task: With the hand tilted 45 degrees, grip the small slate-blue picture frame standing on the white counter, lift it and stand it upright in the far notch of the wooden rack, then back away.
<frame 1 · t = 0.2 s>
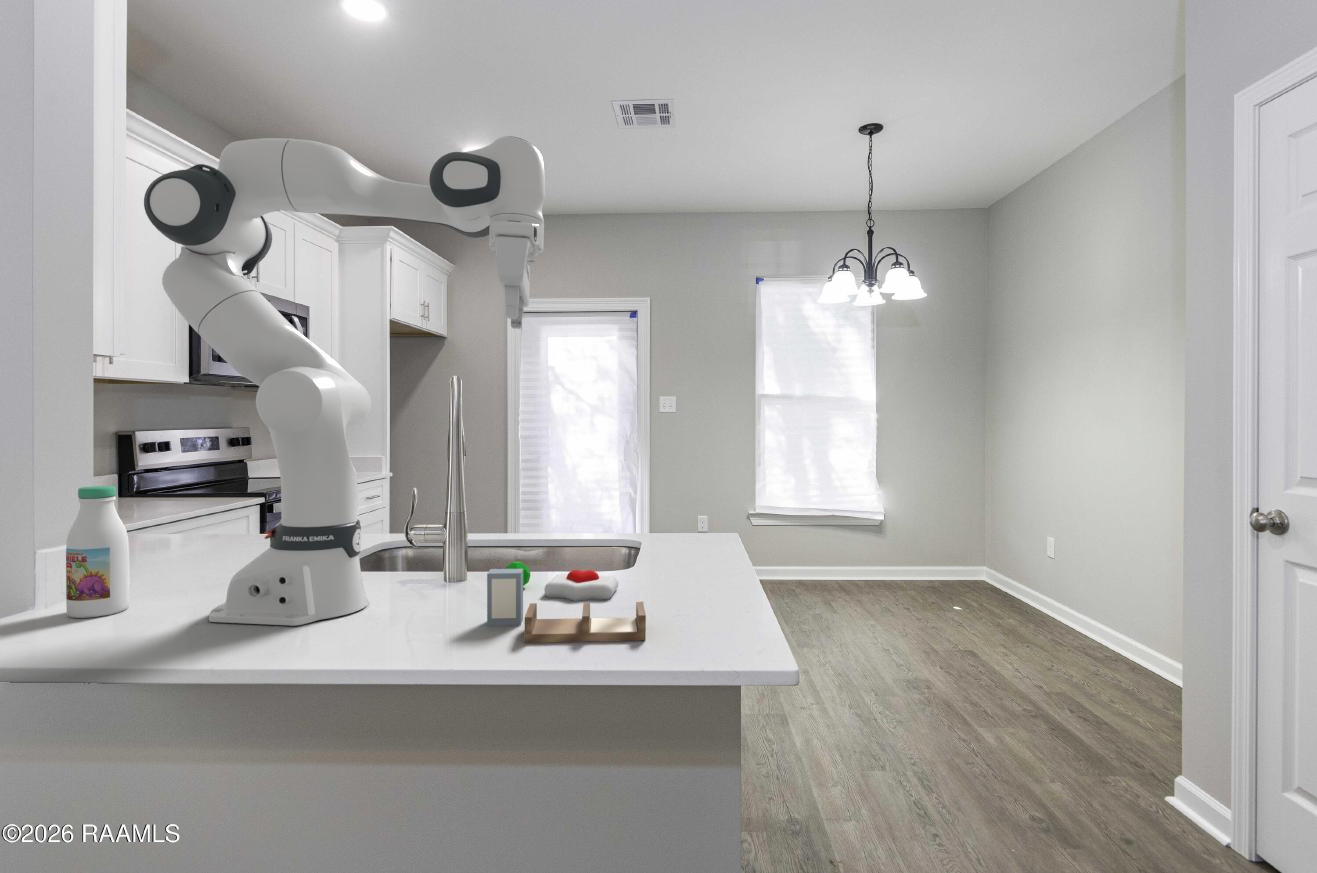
hand: (514, 323, 110), 47 cm above the countertop, tool pointing down, fingers open, 8 cm apart
polyhedron: (516, 589, 123), on the countertop
frame: (505, 622, 103), on the countertop
milk bottle: (99, 613, 106), on the countertop
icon: (580, 597, 120), on the countertop
wooden rack: (586, 633, 98), on the countertop
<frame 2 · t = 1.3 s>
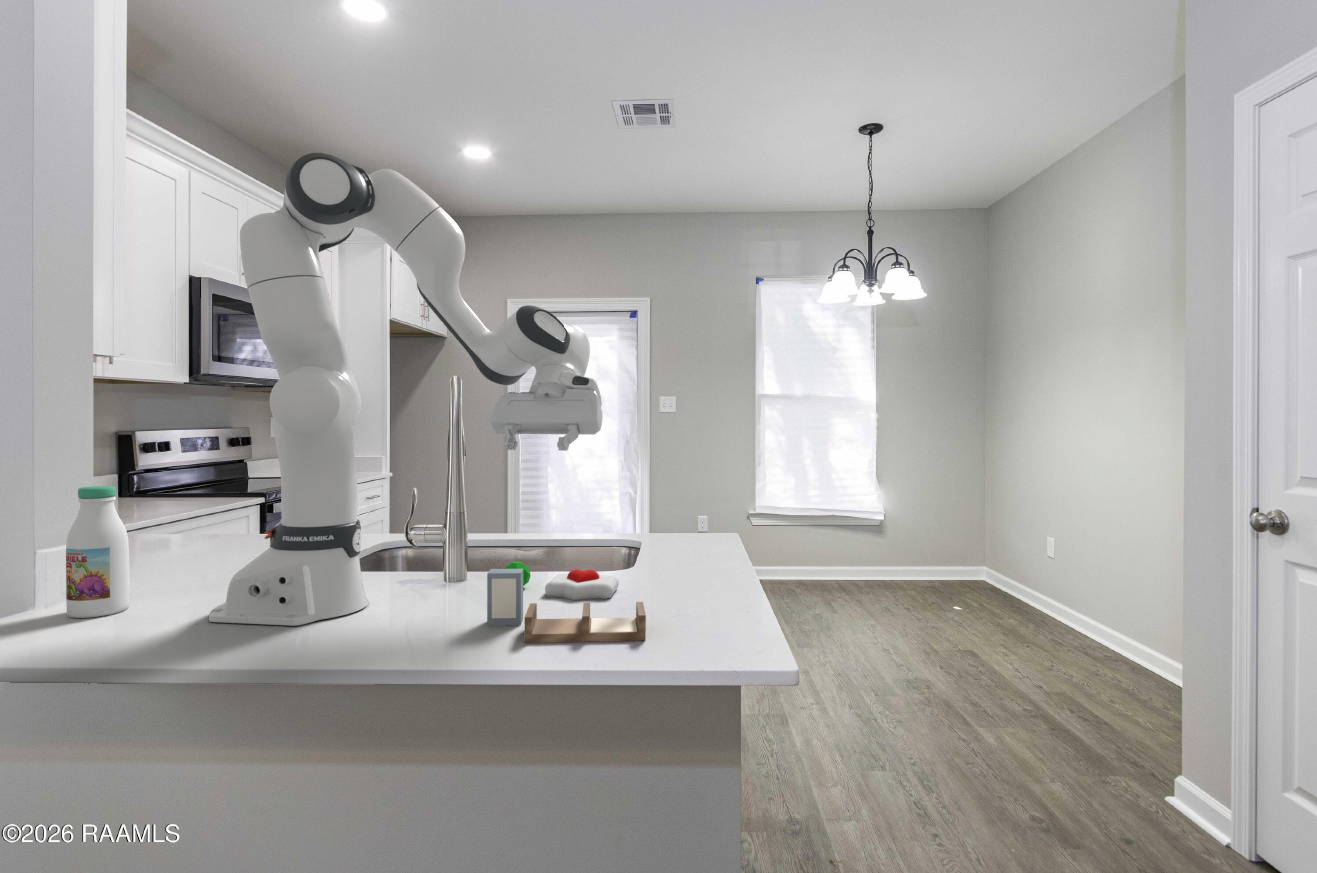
hand: (535, 448, 114), 26 cm above the countertop, tool tilted 45°, fingers open, 8 cm apart
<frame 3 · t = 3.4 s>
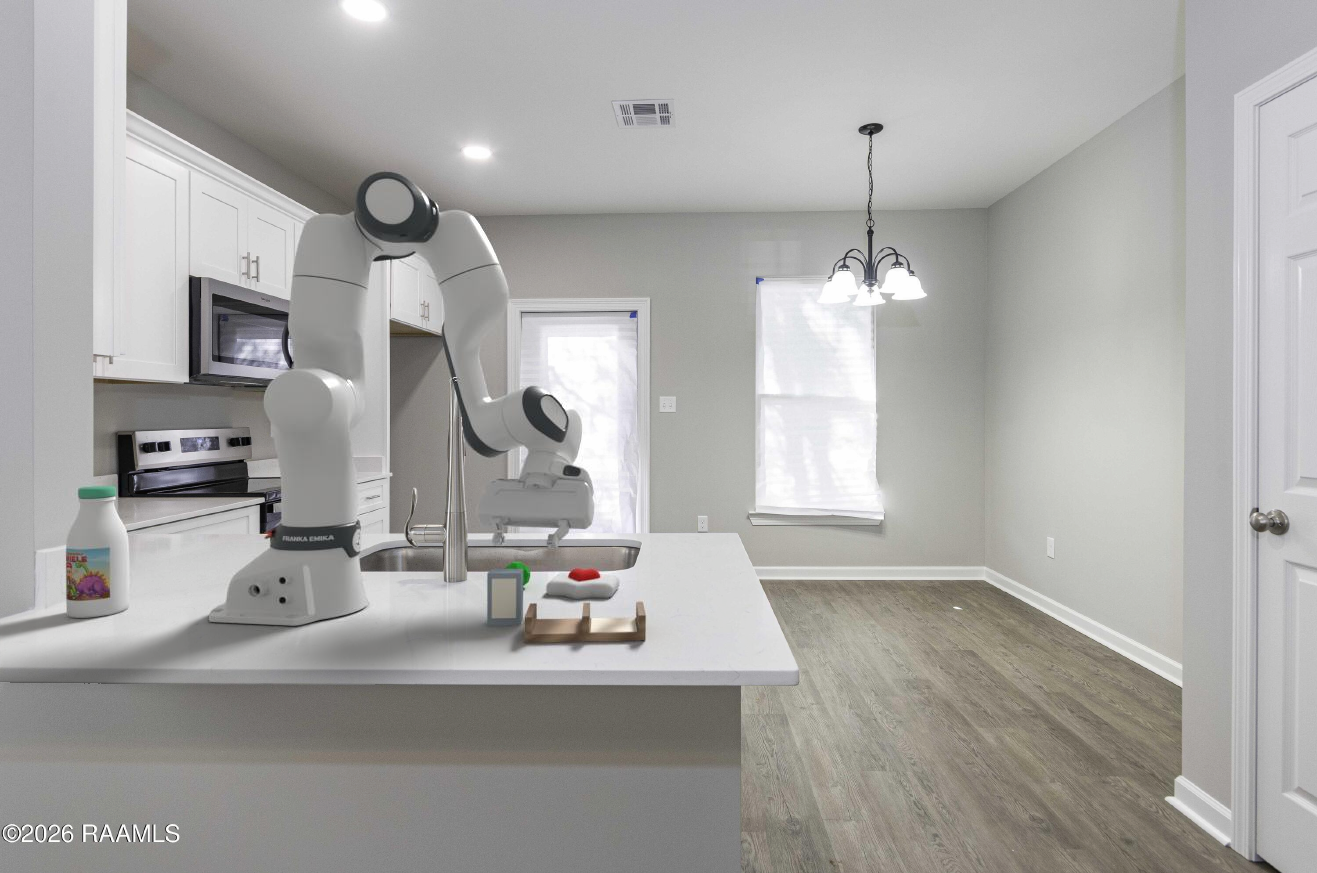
hand: (524, 545, 110), 11 cm above the countertop, tool tilted 45°, fingers open, 8 cm apart
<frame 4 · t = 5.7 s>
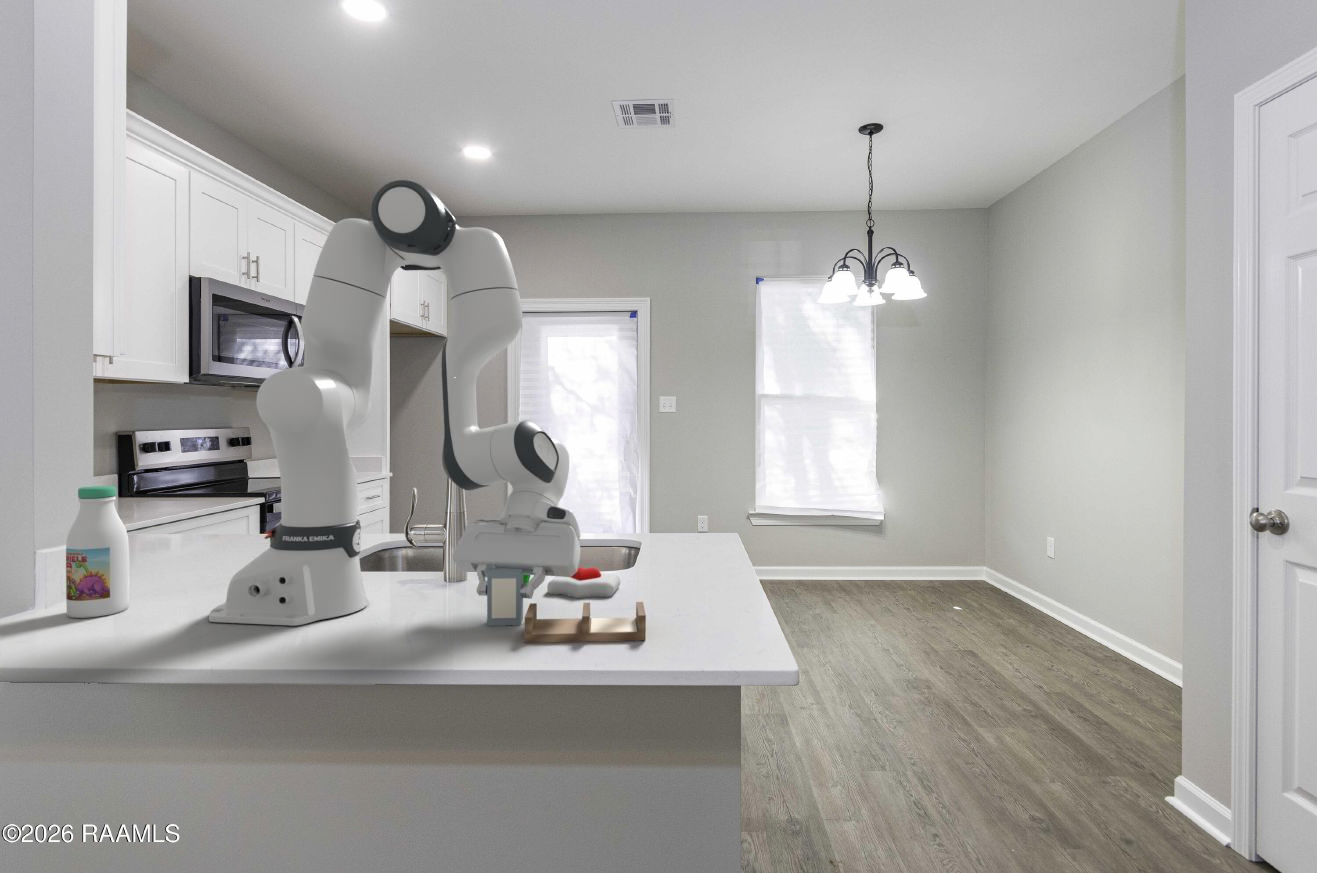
hand: (503, 595, 102), 4 cm above the countertop, tool tilted 45°, fingers closed on frame, 6 cm apart
frame: (505, 622, 103), on the countertop, touching gripper
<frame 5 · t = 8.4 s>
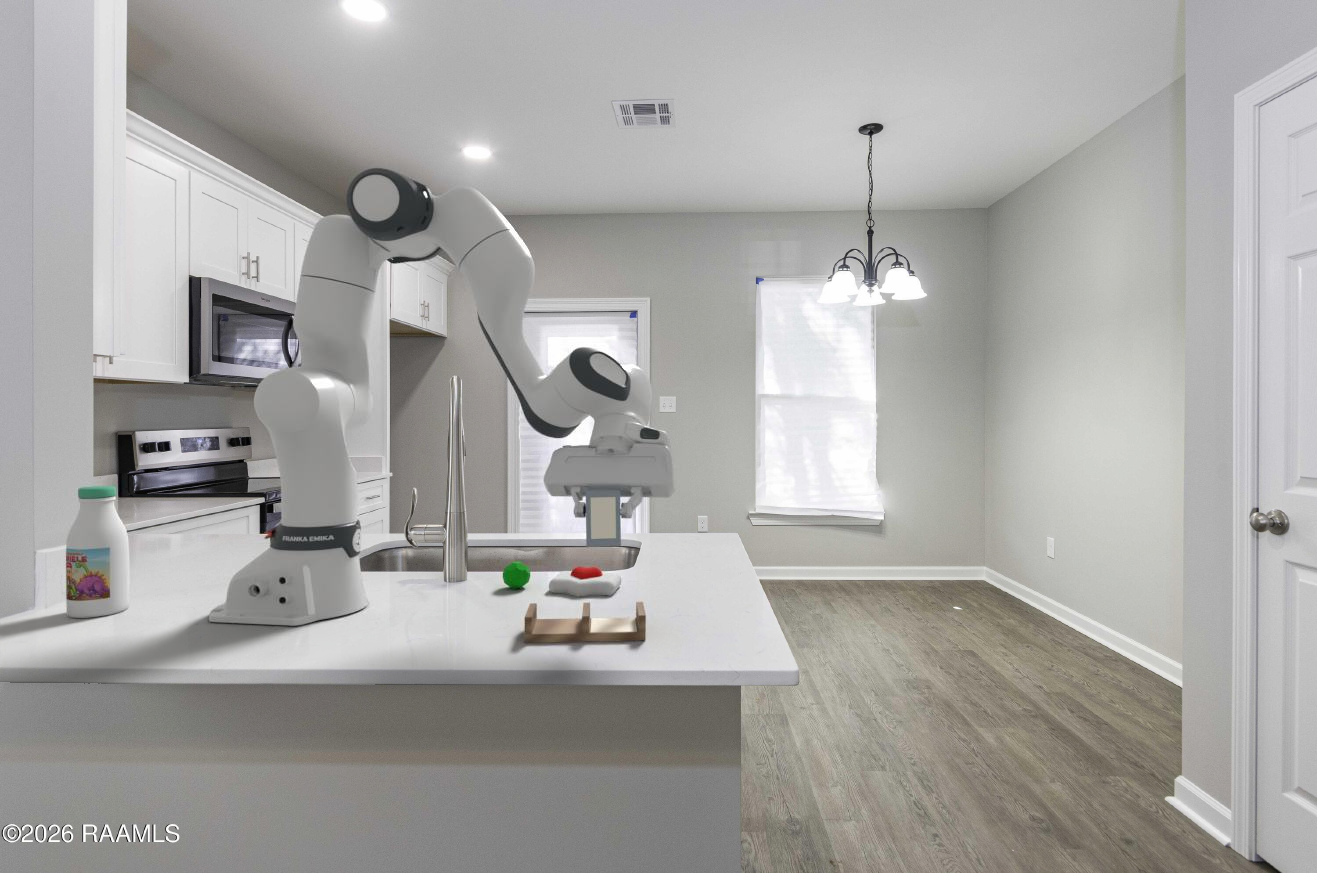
hand: (602, 515, 98), 17 cm above the countertop, tool tilted 45°, fingers closed on frame, 6 cm apart
frame: (603, 544, 98), point 13 cm above the countertop, touching gripper
when the fingers open (7 cm above the countertop, at t = 10.9 s): frame drops 1 cm, resting on wooden rack.
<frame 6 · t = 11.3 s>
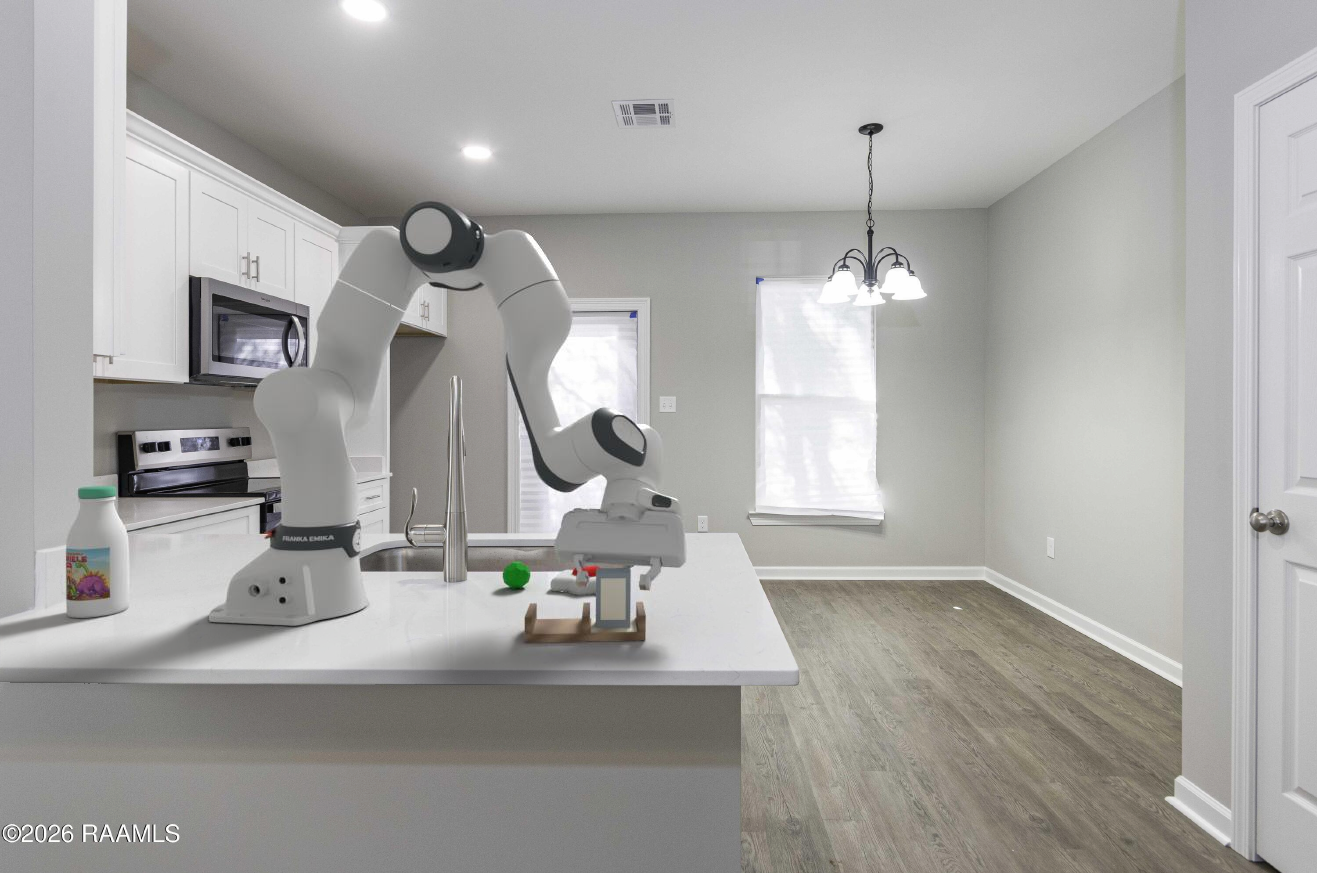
hand: (612, 586, 97), 7 cm above the countertop, tool tilted 45°, fingers open, 8 cm apart
frame: (613, 624, 98), point 1 cm above the countertop, touching wooden rack
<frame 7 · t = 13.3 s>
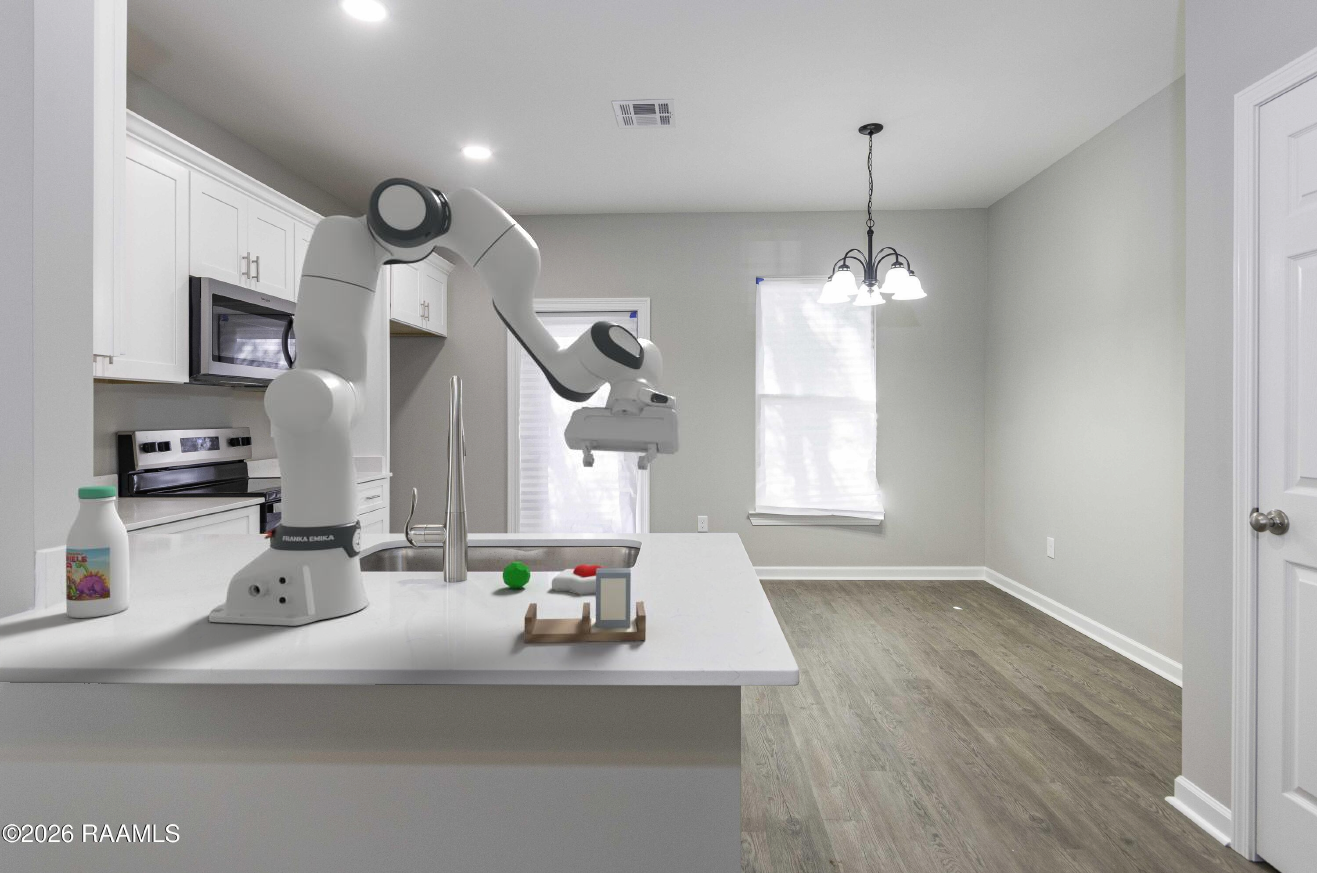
hand: (614, 466, 111), 24 cm above the countertop, tool tilted 45°, fingers open, 8 cm apart
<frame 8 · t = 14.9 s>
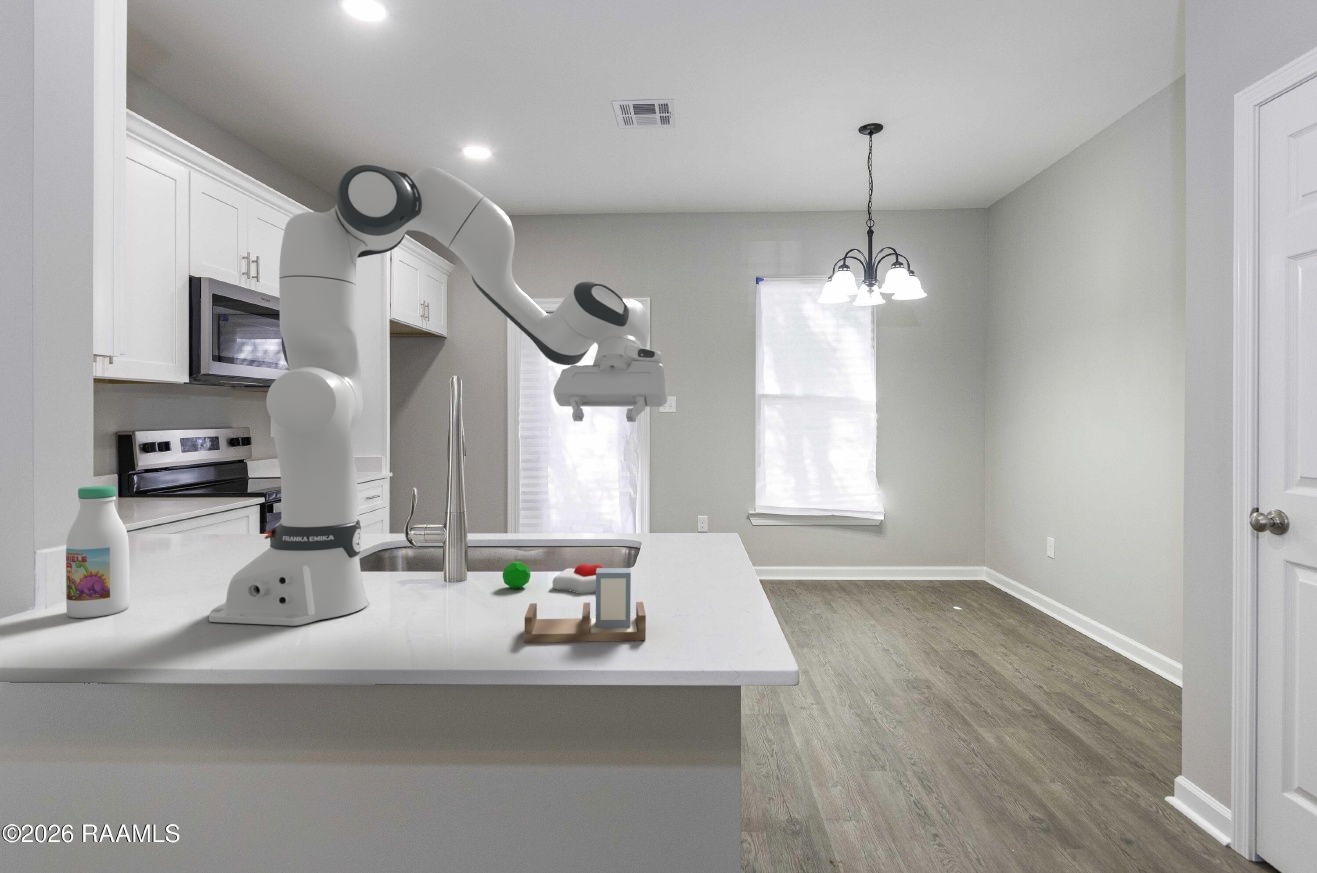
hand: (603, 419, 113), 31 cm above the countertop, tool tilted 45°, fingers open, 8 cm apart
at the end: frame 0.1 cm from the target spot on the wooden rack, point 1.2 cm above the wooden rack's base; frame tilted 0°; the gripper is holding nothing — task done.
